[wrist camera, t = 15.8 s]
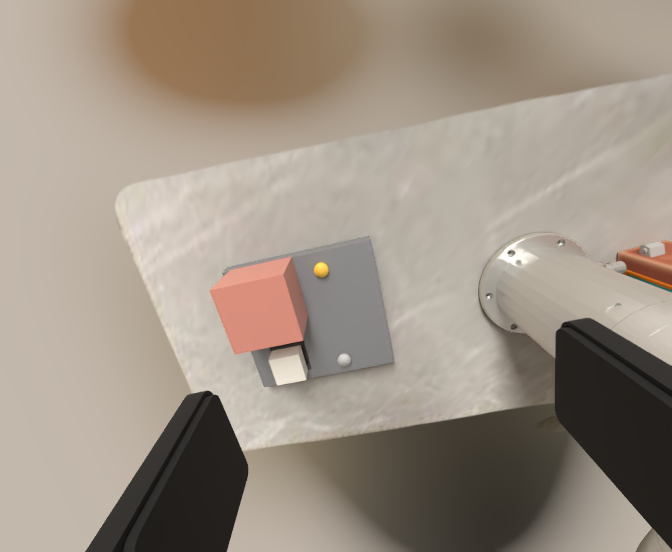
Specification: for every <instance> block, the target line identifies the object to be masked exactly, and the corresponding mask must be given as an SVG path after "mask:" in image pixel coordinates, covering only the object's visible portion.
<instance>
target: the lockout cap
mask: <svg viewBox="0 0 672 552" xmlns="http://www.w3.org/2000/svg"><path fill="white" fill-rule="evenodd" d="M210 293H211V295H212V298H213V300H214V303H215V305H216V308H217V311H218V313H219V316H220V318H221V321H222V323H223V326H224V328H225V331H226V334H227V336H228V339H229V341H230V344H231V346H232V349H233V351H234V354H239V353H244V352H249V351H254V350H259V349H264V348H269V347H274V346H279V345H284V344H289V343H294V342H299V341H303V339H304V334H305V328H306V323H307V317H308V311H307V308H306V304H305V301H304V297H303V294H302V290H301V287H300V283H299V280H298V276H297V273H296V269H295V266H294V262H293V259H292V257H287V258H283V259H278V260H274V261H269V262H265V263H260V264H256V265H251V266H247V267H242V268H238V269H233V270H230V271H229V272H228V273H227V274H226V275H225V276H224V277H223V278H222V279H221V280H220V281H219V282H218V283H217V284H216V285H215V286H214V287H213V288H212V289H211V290H210Z"/></svg>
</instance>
